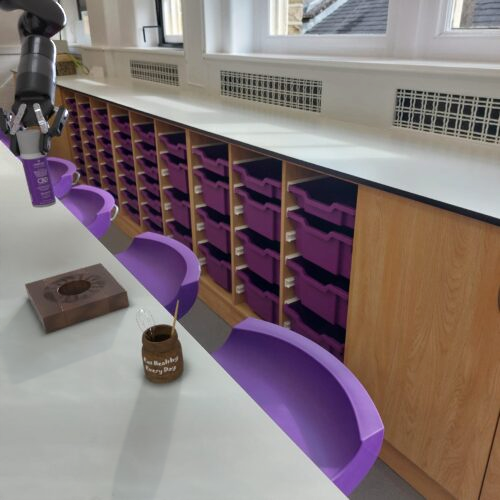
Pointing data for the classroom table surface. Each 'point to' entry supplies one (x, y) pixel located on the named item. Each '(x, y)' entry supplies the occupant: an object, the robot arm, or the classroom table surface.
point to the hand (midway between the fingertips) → (29, 153)
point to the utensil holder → (161, 352)
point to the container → (35, 169)
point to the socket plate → (76, 297)
